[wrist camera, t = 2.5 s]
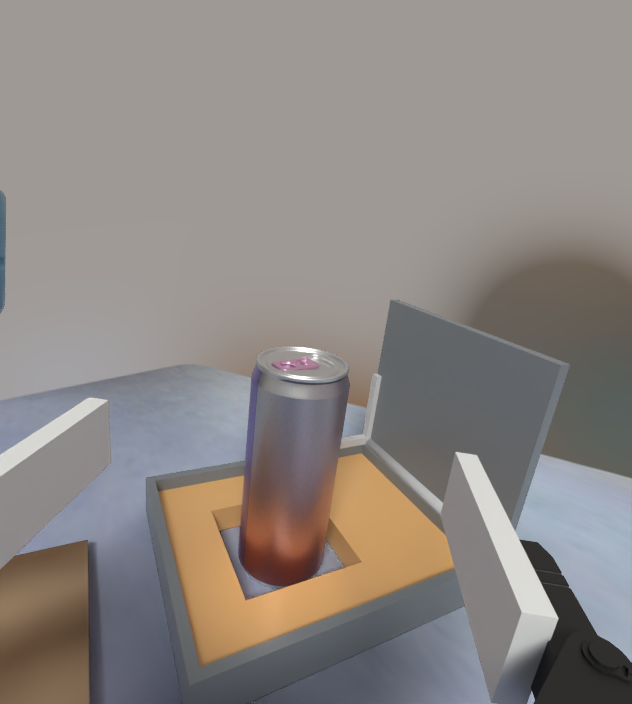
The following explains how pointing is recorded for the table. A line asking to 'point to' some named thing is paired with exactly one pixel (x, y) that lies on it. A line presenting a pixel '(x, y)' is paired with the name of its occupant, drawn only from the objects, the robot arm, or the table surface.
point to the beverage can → (291, 462)
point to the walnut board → (45, 627)
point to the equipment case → (355, 514)
